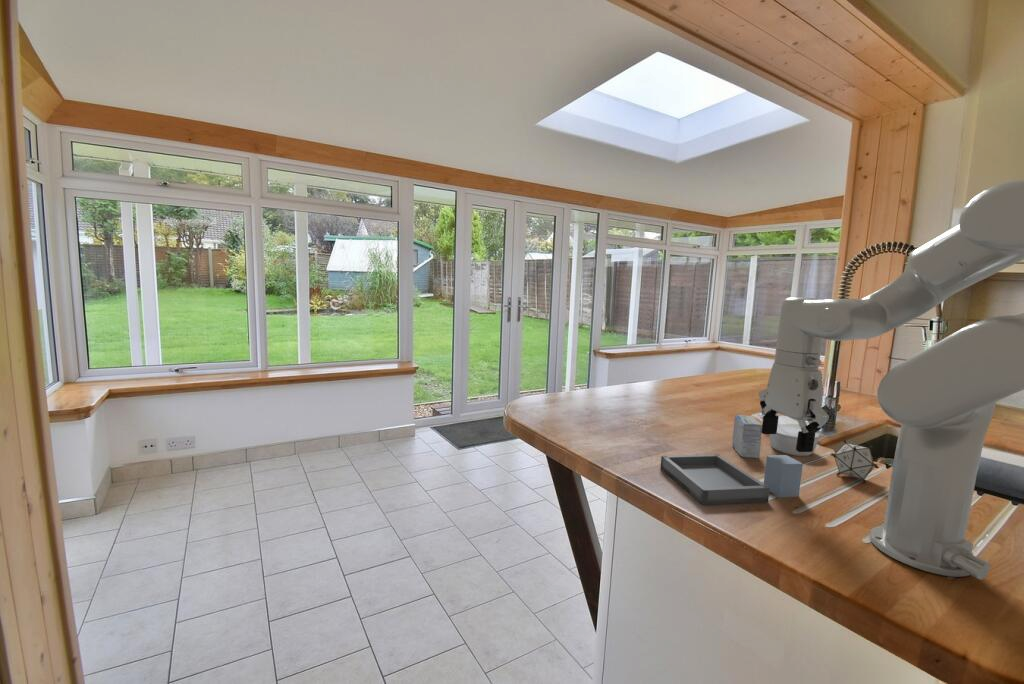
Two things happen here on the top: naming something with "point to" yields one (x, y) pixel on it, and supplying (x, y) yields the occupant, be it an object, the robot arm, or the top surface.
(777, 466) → the slate block
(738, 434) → the medicine box
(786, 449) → the ramekin
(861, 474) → the game die
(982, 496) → the top surface
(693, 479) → the tray
